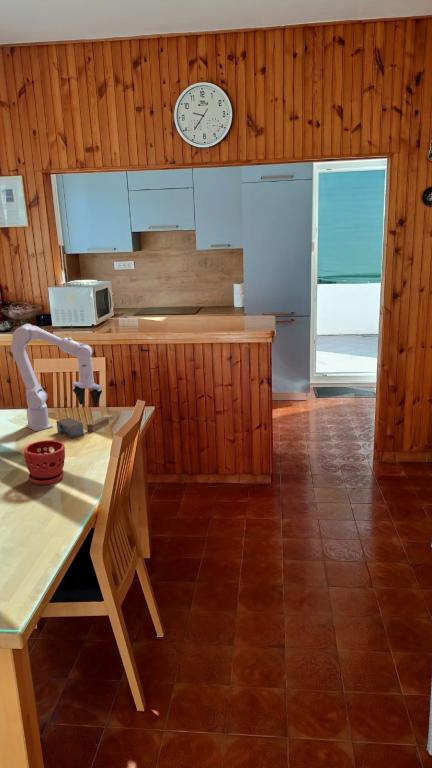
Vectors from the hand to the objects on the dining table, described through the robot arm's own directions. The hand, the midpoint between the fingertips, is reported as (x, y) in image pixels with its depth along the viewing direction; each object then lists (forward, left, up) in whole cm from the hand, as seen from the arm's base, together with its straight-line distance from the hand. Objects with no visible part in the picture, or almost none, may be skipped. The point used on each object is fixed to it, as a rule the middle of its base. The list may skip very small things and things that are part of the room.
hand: (88, 405), depth 251 cm
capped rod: (+4, +2, -9) cm, 10 cm away
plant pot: (+38, -39, -9) cm, 55 cm away
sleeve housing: (+3, -11, -9) cm, 15 cm away
